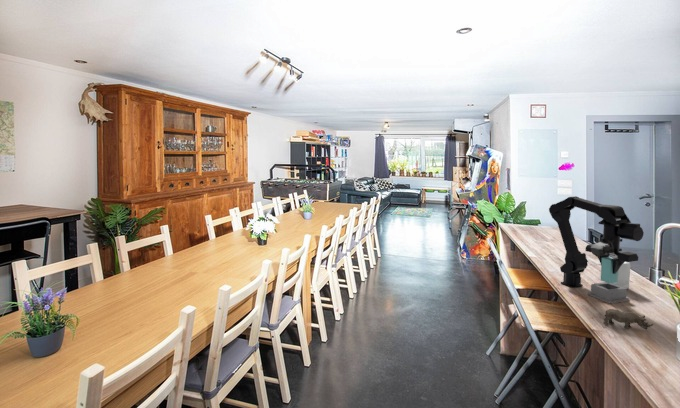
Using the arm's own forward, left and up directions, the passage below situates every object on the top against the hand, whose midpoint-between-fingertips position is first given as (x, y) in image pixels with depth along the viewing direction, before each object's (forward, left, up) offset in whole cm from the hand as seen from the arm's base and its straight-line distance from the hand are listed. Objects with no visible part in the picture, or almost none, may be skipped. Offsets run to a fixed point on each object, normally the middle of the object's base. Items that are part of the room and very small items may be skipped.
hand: (609, 272), depth 152 cm
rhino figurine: (+23, -19, -12) cm, 32 cm away
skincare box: (-7, +15, -11) cm, 20 cm away
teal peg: (0, 0, -4) cm, 4 cm away
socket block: (0, 0, -11) cm, 11 cm away
